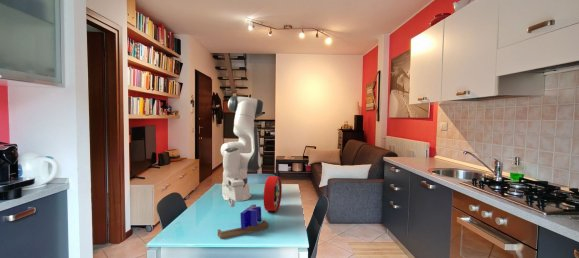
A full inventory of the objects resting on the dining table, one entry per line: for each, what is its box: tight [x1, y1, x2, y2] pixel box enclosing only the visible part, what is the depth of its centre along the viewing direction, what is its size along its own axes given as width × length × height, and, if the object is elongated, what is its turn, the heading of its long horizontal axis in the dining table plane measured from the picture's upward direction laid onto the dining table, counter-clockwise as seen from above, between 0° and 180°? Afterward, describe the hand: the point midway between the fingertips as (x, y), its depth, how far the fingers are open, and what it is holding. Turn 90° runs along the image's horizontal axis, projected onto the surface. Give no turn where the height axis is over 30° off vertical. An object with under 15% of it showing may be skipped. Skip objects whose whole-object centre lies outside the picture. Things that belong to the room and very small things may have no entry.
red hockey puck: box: [262, 175, 283, 212], centre depth 167 cm, size 20×6×20 cm, turn 168°
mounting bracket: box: [240, 204, 263, 229], centre depth 138 cm, size 18×7×6 cm
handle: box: [217, 219, 269, 240], centre depth 133 cm, size 4×24×4 cm, turn 122°
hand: (231, 206), depth 145 cm, fingers closed
